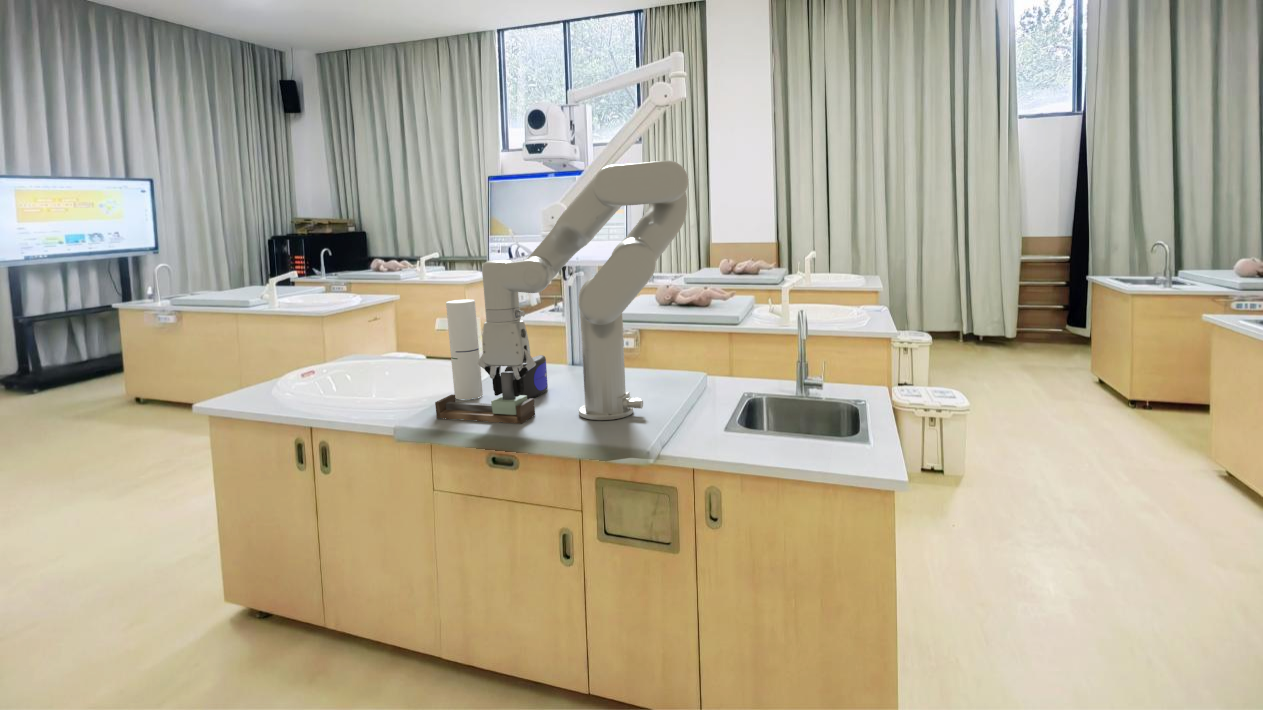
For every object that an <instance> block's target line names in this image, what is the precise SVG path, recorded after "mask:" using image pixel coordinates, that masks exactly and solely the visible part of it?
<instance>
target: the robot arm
mask: <svg viewBox="0 0 1263 710" xmlns="http://www.w3.org/2000/svg"><path fill="white" fill-rule="evenodd" d="M688 185H689V177H688V174H687V170H686V169H685V168H684V167H683V166H682V165H681V164H679V163H678V162H676V161H673V160H657V161H649V162H648V161H647V162H638V163H637V162H636V163H624V164H609V165H606V166H603V167H602V168H601V169H600V170H599V171H597V173H596V175H595V176H594V178H593V179H592V180H591V181H590V182H589V183H588V184H587V185H586V186H585V187H584V189H583V190H582V191H581V192H580V193H579V194H578V196H577V197H576V198H575V199H574V200H573V201H572V202H571V203H570V205H569V206H568V207H566V209H565V210H564V211H563V213H562V214H561V215H560V216H559V217H558V219H557V221H556V222H555V224H554V225H553V227H552V229H551V230H550V232H549V233H548V234H547V235H546V237H545V238H543V240H542V241H541V242H540V243H539V244H538V246H537V247H536V248H535V249H534V250H533V251H532V252H531V253H530V255H529V256H528V257H526V259H524V260H519V261H517V260H516V261H513V260H510V259H497V260H494V259H493V260H489V261H486V262H484V263H483V264H482V268H481V272H482V273H481V274H482V285H483V297H484V298H483V299H484V308H485V310H484V311H485V321H484V323H483V329H482V345H481V347H482V348H481V349H482V355H481V356H480V360H479V361H478V365H479V366H480V367H481V368H482V369H483V370H484V371H485V372H486V373H487V374H488V375H489V378H490V379H492V390H493V394H494V396H495V397H499V396H501V395H502V384H501V370H502V367H507V366H512V368H513V372H514V375H515V379H514V380H513V386H514V396H515V397H518V396H520V395H521V394H523V391H524V382H523V377H524V376H525V375H526V374H527V372H528V371H529V370H530V369H532V368H533V367H534V366H536V363H535V361H534V360H533V357H532V356H531V349H530V340H529V336H528V331H527V328H526V324H525V321H524V320H521V318H523V317H525V316H526V315H525V314H526V312H525V310H521V307H520V301H519V300H520V299H519V297H520V296H519V293H523V294H524V293H526V294H537V293H540V292H543V291H544V290H545V289H547V288H548V286H549V284H550V283H551V282H552V280H553V279H554V278H555V277H556V276H557V274H558V273H559V272H560V271H561V270H562V269H563V267H565V265H566V264H567V263H568V262H569V261H570V260H571V259H572V258H573V256H575V255H576V253H578V252H579V251H580V250H581V249H584V248H585V247H586V246H587V245H588V244H589V243H590V242H591V241H592V240H593V239H594V237H596V235H597V234H598V233H599V232H600V231H601V230H602V229H603V228H604V227H605V225H606V224H607V223H608V222H609V220H611V219H612V217H614V216H615V214H616V213H617V212H618V211H619V210H620V208H621V207H624V206H627V207H628V206H638V205H639V206H640V205H648V207H647V210H646V211H645V213H643V215H642V216H641V218H640V219H639V220H638V222H637V223H636V225H635V226H634V227H633V228H632V229H631V230H630V231H629V233H628V234H627V236H625V238H624V239H623V240H621V242H619V244H617V245H616V246H615V248H614V249H613V251H612V253H611V255H610V257H609V258H608V259H607V261H605V263H604V264H603V265H602V266H601V268H600V269H599V270H598V271H597V272H596V273H595V275H594V276H593V277H591V278H589V279H588V280H586V281H585V282H584V283H583V285H582V286H581V288H580V291H579V293H578V308H579V315H580V316H579V317H580V331H581V332H580V333H581V353H582V354H581V355H582V371H583V372H582V374H583V387H584V388H583V389H584V390H583V391H584V405H581V407H579V409H578V415H579V416H580V417H581V418H583V419H587V420H592V421H609V420H617V419H623V418H625V417H626V418H627V417H629V416H630V415H632V414H633V412H634V409H643V407H644V400H642V398H641V397H640V398H639V397H635V398H634V397H631V396H630V395H631V394H630V393H631V392H630V391H626V372H625V370H626V369H625V353H624V352H625V350H624V349H625V348H624V347H625V344H624V341H625V340H624V339H625V338H624V324H623V323H624V320H623V312H624V311H625V310H626V309H627V308H628V306H629V305H631V303H632V302H633V301H634V300H635V299H636V297H637V296H638V295H639V294H640V292H641V291H642V290H643V289H644V288H645V286H646V285H647V284H648V282H650V280H651V278H652V276H653V274H654V273H655V270H656V265H657V261H658V260H659V258H660V257H661V256H662V255H663V254H664V252H665V251H666V250H667V248H668V247H669V246H670V245H671V242H673V240H675V238H676V236H677V235H678V233H679V232H680V231H681V229H682V227H683V225H684V223H685V220H686V216H687V210H688V197H687V192H686V191H687V189H688ZM523 363H527V365H526V366H525V367H524V368H523Z"/></svg>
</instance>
